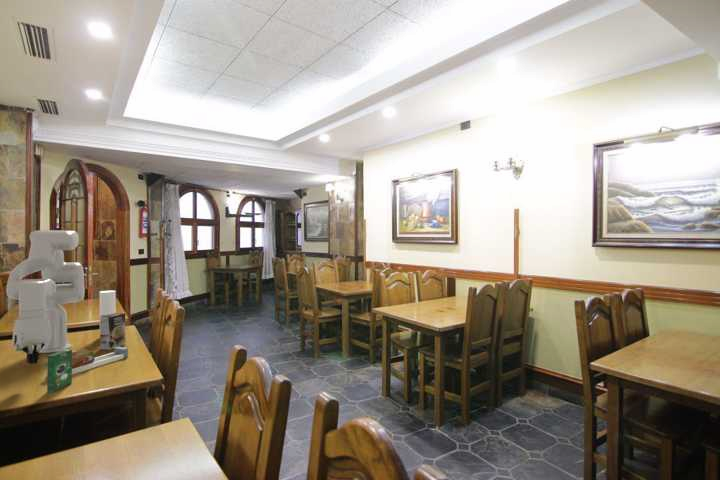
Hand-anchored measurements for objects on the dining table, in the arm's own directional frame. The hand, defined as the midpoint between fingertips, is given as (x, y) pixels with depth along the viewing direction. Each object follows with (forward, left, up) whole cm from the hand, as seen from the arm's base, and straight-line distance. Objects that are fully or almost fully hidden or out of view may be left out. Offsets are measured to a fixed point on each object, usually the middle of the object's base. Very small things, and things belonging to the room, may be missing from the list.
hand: (32, 363), depth 136 cm
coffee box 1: (+13, +2, -8) cm, 15 cm away
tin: (0, +13, -8) cm, 16 cm away
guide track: (0, +19, -8) cm, 21 cm away
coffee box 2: (-18, +41, -8) cm, 46 cm away
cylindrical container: (-38, +51, -8) cm, 65 cm away
